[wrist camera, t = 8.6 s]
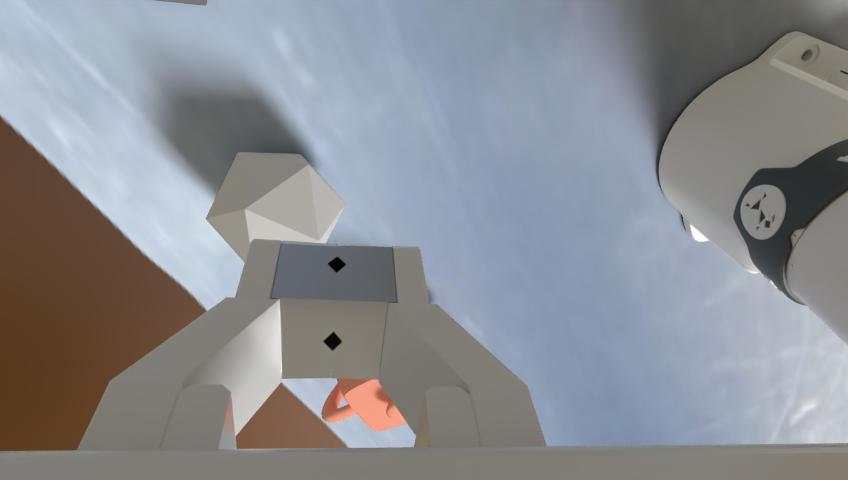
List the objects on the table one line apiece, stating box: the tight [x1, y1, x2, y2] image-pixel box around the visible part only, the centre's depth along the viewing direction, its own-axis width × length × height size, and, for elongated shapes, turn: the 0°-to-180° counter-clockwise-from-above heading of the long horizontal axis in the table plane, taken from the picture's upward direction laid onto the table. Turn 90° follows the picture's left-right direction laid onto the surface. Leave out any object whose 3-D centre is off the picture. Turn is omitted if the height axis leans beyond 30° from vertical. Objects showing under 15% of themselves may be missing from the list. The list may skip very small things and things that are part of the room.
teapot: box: [322, 378, 407, 431], centre depth 50 cm, size 12×12×10 cm
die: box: [206, 152, 346, 262], centre depth 39 cm, size 8×9×10 cm
